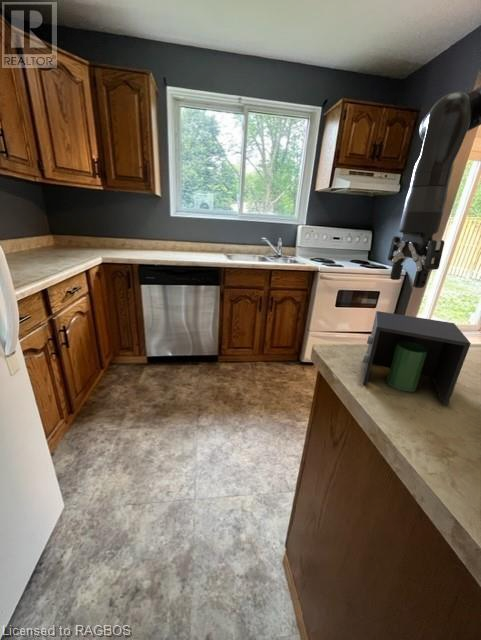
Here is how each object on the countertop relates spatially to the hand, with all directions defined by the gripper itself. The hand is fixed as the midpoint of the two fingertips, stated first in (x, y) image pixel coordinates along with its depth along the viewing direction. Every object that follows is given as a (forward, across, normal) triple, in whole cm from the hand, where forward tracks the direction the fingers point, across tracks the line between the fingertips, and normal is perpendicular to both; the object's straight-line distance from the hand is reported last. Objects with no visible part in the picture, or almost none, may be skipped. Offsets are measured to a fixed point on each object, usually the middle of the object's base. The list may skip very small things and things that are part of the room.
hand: (405, 283), depth 65 cm
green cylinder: (+23, -8, +1) cm, 24 cm away
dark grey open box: (+23, -7, +1) cm, 24 cm away
